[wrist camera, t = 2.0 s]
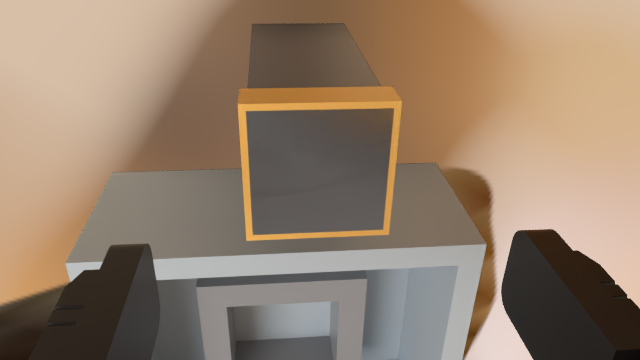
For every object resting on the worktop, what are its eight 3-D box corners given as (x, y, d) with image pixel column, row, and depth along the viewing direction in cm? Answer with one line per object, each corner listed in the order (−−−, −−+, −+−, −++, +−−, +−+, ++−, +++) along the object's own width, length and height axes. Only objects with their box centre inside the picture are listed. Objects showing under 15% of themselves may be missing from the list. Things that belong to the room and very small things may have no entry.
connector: (247, 19, 22) (237, 104, 14) (348, 18, 23) (402, 101, 14) (251, 115, 25) (246, 240, 16) (344, 113, 25) (389, 234, 16)
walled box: (112, 172, 25) (65, 263, 19) (435, 162, 27) (486, 244, 21) (152, 373, 32) (127, 486, 26) (408, 356, 34) (440, 460, 28)
